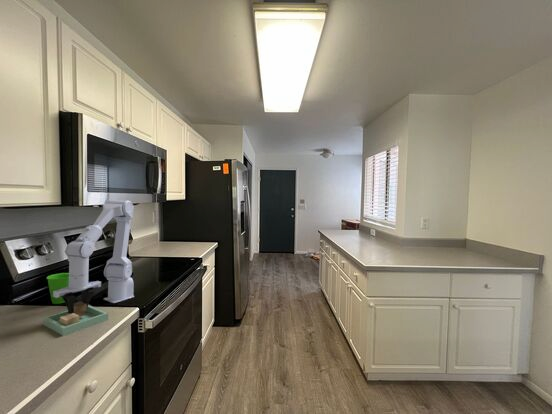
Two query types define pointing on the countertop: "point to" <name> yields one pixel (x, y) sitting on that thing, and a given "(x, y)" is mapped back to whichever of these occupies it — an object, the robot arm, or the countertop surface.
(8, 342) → the countertop surface
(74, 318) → the beech block in tray
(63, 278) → the cup
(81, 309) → the walnut block
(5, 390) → the countertop surface
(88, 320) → the tray
